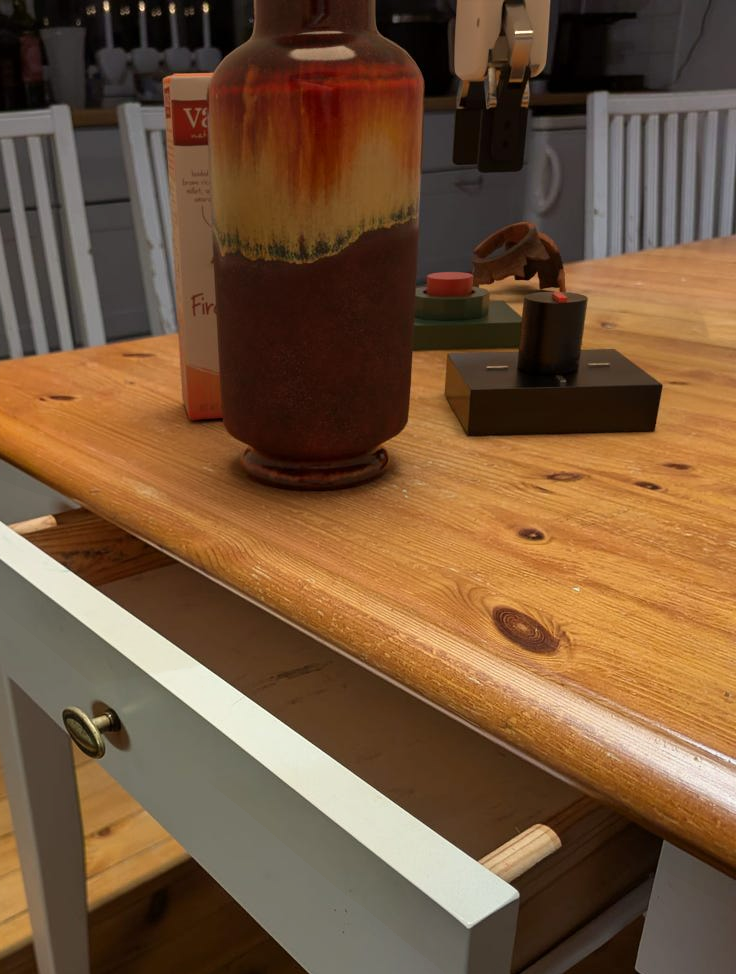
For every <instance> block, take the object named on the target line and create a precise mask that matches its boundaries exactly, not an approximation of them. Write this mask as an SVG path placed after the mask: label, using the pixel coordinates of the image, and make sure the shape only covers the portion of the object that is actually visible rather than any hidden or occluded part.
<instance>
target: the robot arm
mask: <svg viewBox="0 0 736 974" xmlns="http://www.w3.org/2000/svg"><path fill="white" fill-rule="evenodd" d="M550 14H551V0H456V15H455V27H454V28H455V31H454V33H455V34H454V53H453V54H454V57H453V58H454V60H453V61H454V73H455V75H456V76H457V77H458V81H459V82H458V83H459V84H458V88H457V94H456V108H455V110H454V122H453V125H454V126H453V139H452V153H451V154H452V156H451V162H452V163H453V164H454V165H456V166H470V165H476V169H477V171H478V172H479V173H482V174H490V173H491V174H492V173H517V172H520V171H521V170H522V169H523V167H524V160H525V148H526V141H527V139H526V138H527V128H528V118H529V104H530V97H531V95H530V93H531V92H530V91H531V90H530V81H529V79H531V78H534V77H537V76H538V75H539V74H541V73H542V72H543V71H544V69H545V67H546V65H547V64H546V63H547V55H548V44H549V43H548V42H549V27H550Z"/></svg>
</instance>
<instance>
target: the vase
mask: <svg viewBox="0 0 736 974" xmlns="http://www.w3.org/2000/svg"><path fill="white" fill-rule="evenodd" d="M376 20H377V19H376V0H253V28H252V33H251V36H250V37H249V39H248V40H247V41H245V42H244V43H242V44H241V45H239V46H238V47H236V48H235V49H233V50H232V51H231V52H229V53H228V54H227V55H225V57H224V58H223V59H222V60H221V61H220V63H219V64H218V66H217V67H216V68H215V69H214V71H213V72H212V73H213V75H212V77H211V79H210V80H209V83H208V86H207V93H206V102H207V136H208V158H209V178H210V198H211V219H212V239H213V260H214V279H215V298H216V316H217V335H218V354H219V372H220V390H221V402H222V414H223V418H222V424H223V427H224V428H225V430H226V432H227V433H228V434H229V435H230V436H231V437H233V438H234V439H236V440H237V441H239V442H241V443H243V444H245V445H247V447H246V448H245V450H244V451H242V452H243V453H242V454H241V457H240V469H241V471H242V472H243V474H244V475H245V476H246V477H247V478H249V479H251V480H252V481H254V482H257V483H260V484H263V485H267V486H270V487H274V488H279V489H287V490H297V491H328V490H330V491H331V490H338V489H339V490H340V489H346V488H351V487H356V486H360V485H364V484H367V483H370V482H372V481H375V480H377V479H379V478H380V477H382V476H384V475H385V474H386V473H387V472H388V470H389V468H390V466H391V456H390V452H389V451H388V450H387V448H386V447H385V446H384V443H386V442H388V441H389V440H392V439H393V438H395V437H396V436H398V435H399V434H401V432H402V431H404V430H405V428H406V426H407V424H408V422H409V414H410V413H409V412H410V401H411V400H410V398H411V389H412V372H413V371H412V370H413V353H414V351H413V334H414V314H415V295H416V288H417V274H418V254H419V253H418V252H419V251H418V250H419V230H420V211H421V189H422V167H423V166H422V165H423V145H424V124H425V123H424V121H425V119H424V118H425V117H424V116H425V79H424V76H423V74H422V71H421V70H420V68H419V66H418V64H417V63H416V61H415V60H414V58H413V57H412V56H411V55H410V54H409V53H408V51H407V50H405V48H403V47H401V46H400V45H398V43H396V42H394V41H392V40H390V39H389V38H387V37H384V36H383V35H382V34H381V33H380V32H379V30H378V27H377V22H376Z"/></svg>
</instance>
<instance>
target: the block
mask: <svg viewBox="0 0 736 974" xmlns="http://www.w3.org/2000/svg"><path fill="white" fill-rule="evenodd" d="M426 289H427V286H419V287H416V295H415V314H414V334H413V352H417V351H418V352H419V351H450V350H456V351H457V350H484V349H485V350H490V349H493V350H494V349H519V343H520V333H521V323H522V315H520V314H519V313H518V312H517V311H515V309H514V308H513V307H511V306H510V305H509V304H508V303H507V302H506V301H505V300H490V296H491V293H490V291H489V290H488V289H487V288H483V287H480V286H479V287H474V286H472V294H471V295H464V296H432V295H427V294H426Z"/></svg>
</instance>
